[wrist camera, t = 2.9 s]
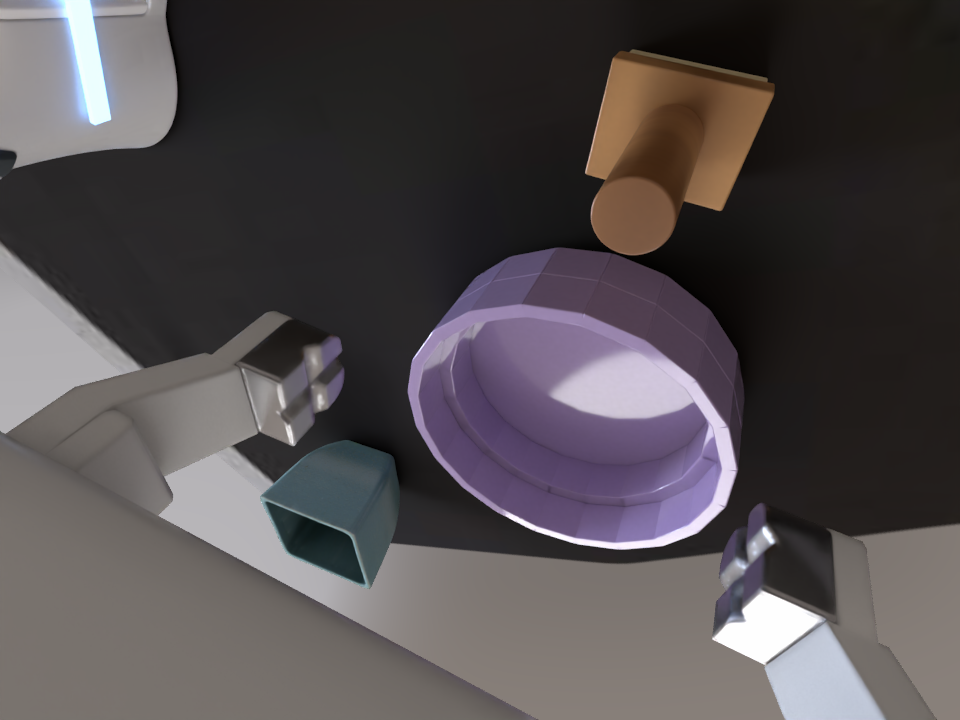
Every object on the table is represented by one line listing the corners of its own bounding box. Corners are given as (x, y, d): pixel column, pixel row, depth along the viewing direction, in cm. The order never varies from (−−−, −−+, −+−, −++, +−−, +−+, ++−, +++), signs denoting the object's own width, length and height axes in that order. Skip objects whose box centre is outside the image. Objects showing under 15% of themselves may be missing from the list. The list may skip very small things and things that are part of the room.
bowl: (410, 271, 33) (356, 326, 29) (715, 210, 24) (699, 279, 20) (509, 467, 41) (477, 531, 37) (761, 480, 32) (757, 568, 28)
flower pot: (412, 446, 45) (352, 535, 39) (421, 506, 51) (370, 592, 45) (325, 416, 48) (256, 495, 42) (343, 477, 54) (285, 554, 47)
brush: (600, 152, 24) (527, 254, 17) (628, 41, 21) (553, 114, 14) (727, 185, 23) (701, 310, 16) (776, 73, 20) (769, 169, 13)
